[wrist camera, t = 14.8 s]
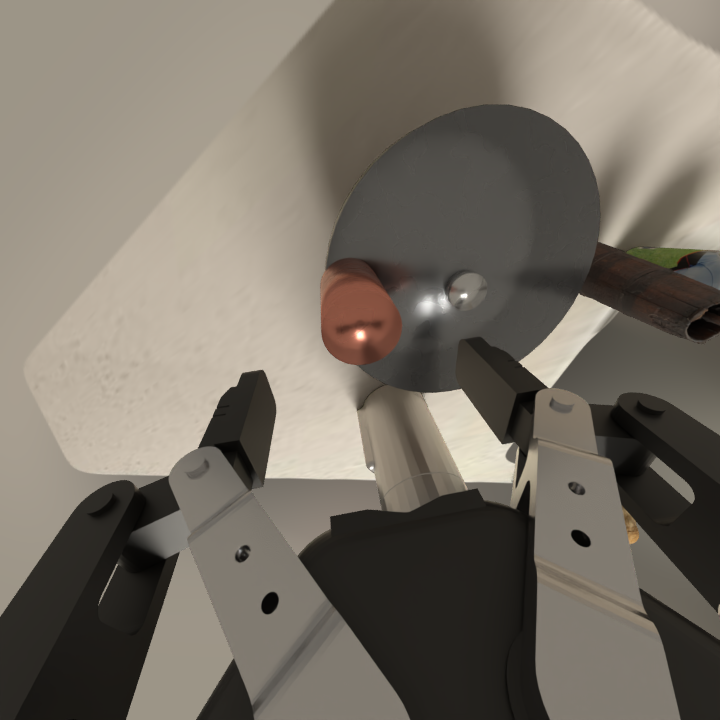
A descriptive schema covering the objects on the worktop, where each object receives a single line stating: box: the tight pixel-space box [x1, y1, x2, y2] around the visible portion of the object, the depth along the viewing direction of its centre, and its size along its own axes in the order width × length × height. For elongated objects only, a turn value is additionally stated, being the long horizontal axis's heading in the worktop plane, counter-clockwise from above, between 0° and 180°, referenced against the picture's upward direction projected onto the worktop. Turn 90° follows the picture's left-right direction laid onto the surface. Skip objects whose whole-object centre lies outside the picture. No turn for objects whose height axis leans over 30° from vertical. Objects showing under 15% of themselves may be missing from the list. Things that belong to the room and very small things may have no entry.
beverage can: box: [626, 247, 720, 290], centre depth 28 cm, size 6×7×12 cm
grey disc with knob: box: [320, 105, 600, 393], centre depth 16 cm, size 18×18×8 cm
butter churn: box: [579, 242, 720, 344], centre depth 20 cm, size 9×10×28 cm
